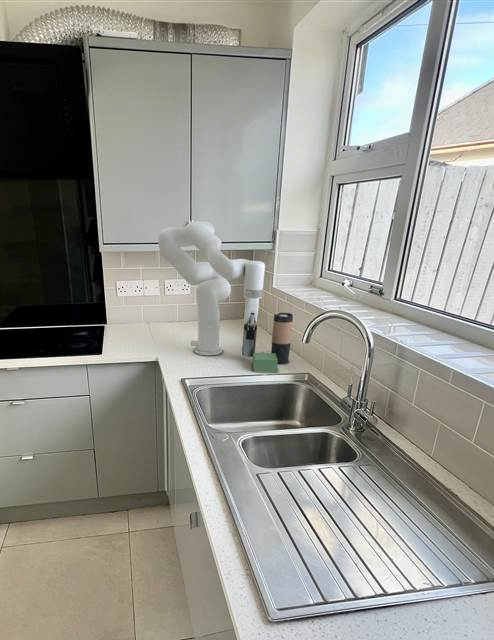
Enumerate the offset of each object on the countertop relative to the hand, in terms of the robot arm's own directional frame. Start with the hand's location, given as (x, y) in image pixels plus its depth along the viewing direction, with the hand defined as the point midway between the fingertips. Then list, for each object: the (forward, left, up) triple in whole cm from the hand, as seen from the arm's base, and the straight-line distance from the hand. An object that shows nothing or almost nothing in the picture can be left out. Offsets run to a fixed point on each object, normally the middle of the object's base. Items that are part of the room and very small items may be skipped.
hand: (249, 336), depth 168 cm
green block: (+9, -6, -10) cm, 15 cm away
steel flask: (0, 0, -8) cm, 8 cm away
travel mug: (+12, +5, -11) cm, 17 cm away
